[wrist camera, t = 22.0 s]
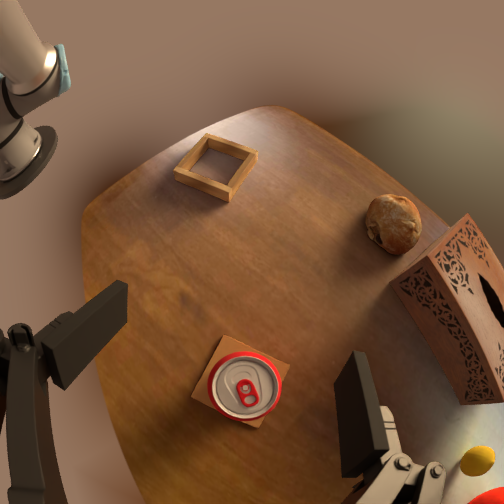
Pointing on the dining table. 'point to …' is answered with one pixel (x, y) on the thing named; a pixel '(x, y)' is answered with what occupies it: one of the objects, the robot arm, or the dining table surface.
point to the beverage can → (244, 386)
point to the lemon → (477, 461)
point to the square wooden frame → (207, 184)
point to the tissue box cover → (460, 310)
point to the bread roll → (393, 223)
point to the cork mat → (224, 349)
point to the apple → (490, 497)
